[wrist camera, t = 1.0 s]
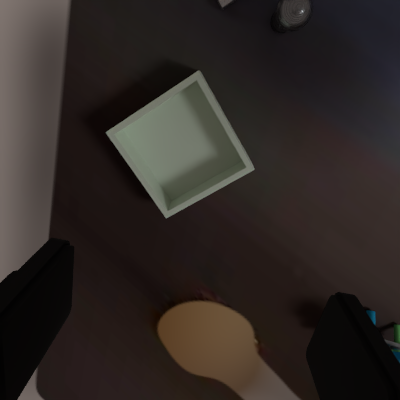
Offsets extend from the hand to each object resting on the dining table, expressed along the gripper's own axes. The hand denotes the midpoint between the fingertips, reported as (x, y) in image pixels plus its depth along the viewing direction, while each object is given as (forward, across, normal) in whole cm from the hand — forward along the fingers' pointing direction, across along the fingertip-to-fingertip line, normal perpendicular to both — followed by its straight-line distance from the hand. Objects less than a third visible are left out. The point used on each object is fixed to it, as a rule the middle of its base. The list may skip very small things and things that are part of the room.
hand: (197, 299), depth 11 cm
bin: (+24, +3, 0) cm, 24 cm away
